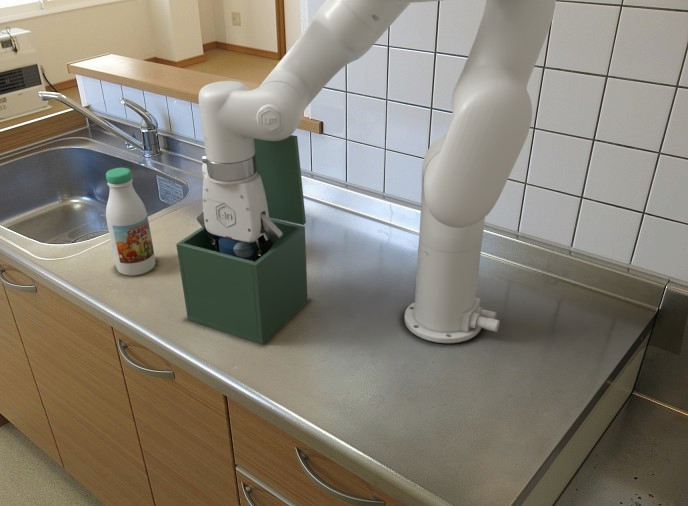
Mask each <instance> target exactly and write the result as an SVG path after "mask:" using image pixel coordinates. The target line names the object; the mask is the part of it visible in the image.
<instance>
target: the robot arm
mask: <svg viewBox="0 0 688 506" xmlns="http://www.w3.org/2000/svg"><path fill="white" fill-rule="evenodd" d="M442 1H443V0H324V1H323V3H322V4H321V5H320V7H319V8H318V9H317V11H316V12H315V13H314V15H313V16H312V18H311V20H310V22H309V24H308V25H307V27H305V30H304V31H303V32H302V34H301V35H300V36H299V37H298V39H297V40H296V41H294V43H293V45H292V46H291V47H290V48H289V50H288V51H286V54H284V56H283V57H282V58H281V59H280V61H278V63H277V64H276V66H274V68H273V69H272V70H271V71H270V73H269V74H268V75H267V76H266V77H265V79H264V80H263V81H262V82H261V84H260V85H259V86H258V87H257V88H254V89H251V90H250V89H249V88H248V86H247V85H246V84H245V83H243V82H240V81H235V80H221V81H214V82H210V83H208V84H206V85H204V86H202V87H201V88H200V90H199V93H198V108H199V116H200V122H201V123H200V124H201V129H202V138H203V145H204V152H205V154H204V155H202V157H201V161H202V164H203V163H206V164H207V170H208V173H206V174H205V175H204V180H203V183H202V212H201V213H200V214H198V216H197V217H196V221H197V222H198V224H199V225H200V226H201V227H203V228H204V231H205V233H206V234H207V235H208V236H209V238H210V242H211V244H213V245H214V247H215V251H216V252H219V253H220V250H219V242H218V241H219V238H220V236H221V237H225V236H228V237H231V238H232V239H234V240H238V241H242V242H247V243H251V245H252V247H253V249H254V250H255V252H256V254H254V255H253V261H254V262H255V261H257V260H258V259H259V258H260V257H262V256H263V255H264V254H265V253H267V252H268V250H269V249H270V248H271V247H272V246H273V245H274V244H276V242H277V241H278V240H279V239H280V238H281V237H282V235H283V234H282V232H281V231H280V230H279V229H278V228H277V226H276V225H275V224H274V223H273V222H272V221H271V220H270V219H271V218H270V217H269V213H268V206H267V200H266V195H265V190H264V186H263V183H262V179H261V176H260V174H257V166H256V155H255V144H254V138H255V139H260V140H266V141H280V140H283V139H286V138H288V137H289V136H291V135H293V134H294V133H295V131H296V130H297V129H298V127H299V124H300V122H301V120H302V117H303V115H304V113H305V111H306V109H307V108H308V107H309V105H311V103H312V101H314V99H315V98H316V97H317V96H318V94H319V93H320V92H321V91H322V90H323V89H324V88H325V86H326V85H327V84H328V83H329V82H330V81H331V80H332V79H333V78H334V77H335V76H336V75H337V74H338V73H339V72H340V71H341V70H342V69H343V68H344V67H346V66H347V65H349V64H350V63H353V62H355V61H357V60H359V59H361V58H362V57H363V56H365V54H367V53H368V51H370V49H371V48H372V47H373V46H374V45H375V44H376V42H377V41H379V39H380V38H381V37H382V36H383V35H384V34H385V32H386V31H387V30H388V29H389V28H390V27H391V25H393V24H394V22H395V21H396V20H397V19H398V18H399V17H400V15H401V14H402V13H403V12H404V11H405V10H406V9H407V8H408V7H409V6H410V5H411V4H412V3H428V2H442ZM556 5H557V0H485V5H484V9H483V14H482V17H481V19H480V23H479V26H478V28H477V33H476V35H475V38H474V40H473V42H472V46H471V48H470V50H469V53H468V56H467V58H466V60H465V64H464V66H463V68H462V71H461V73H460V75H459V78H458V79H457V82H456V84H455V86H454V88H453V91H452V95H451V111H452V119H451V122H450V126H449V128H448V130H447V133H445V134H443V135H442V136H440V137H438V138H437V139H435V141H434V142H433V143H432V144H431V145H430V146H429V148H427V151H426V153H425V155H424V158H423V161H422V167H421V191H420V192H421V194H420V195H421V196H420V219H419V233H418V234H419V235H418V248H417V263H416V281H415V296H414V302H412V303H410V304H409V305H407V308H406V309H405V310H404V319H403V320H404V325H405V326H406V328H407V329H408V330H409V331H410V332H411V333H412V334H414V335H415V336H416V337H419V338H421V339H423V340H426V341H428V342H433V343H439V344H457V343H461V342H462V343H463V342H466V341H468V340H471V339H472V338H474V337H476V336H477V335H479V333H480V332H481V330H482V329H484V330H487V331H491V332H495V333H497V332H498V330H499V327H500V324H501V323H500V321H501V320H499V319H497V318H496V317H497V312H496V311H492V310H487V309H483V307H481V298H480V297H476V295H477V286H478V280H479V270H480V261H481V253H482V247H483V245H482V244H483V238H484V230H485V221H486V217H487V216H489V214H490V213H491V211H492V210H493V209H494V207H495V205H496V204H497V203H498V200H499V198H500V197H501V195H502V192H503V190H504V188H505V186H506V184H507V182H508V180H509V178H510V175H511V173H512V171H513V170H514V167H515V165H516V163H517V160H518V158H519V156H520V154H521V152H522V149H523V147H524V145H525V143H526V140H527V139H528V135H529V133H530V129H531V125H532V120H533V104H532V98H531V97H530V94H529V92H528V84H529V81H530V78H531V76H532V73H533V71H534V68H535V66H536V64H537V62H538V59H539V56H540V55H541V51H542V48H543V46H544V43H545V41H546V38H547V36H548V33H549V31H550V27H551V25H552V21H553V18H554V15H555V9H556ZM266 232H267V233H268V234H269V238H268V239H267V237H266V235H265V233H266ZM258 238H259V240H260V242H261V244H262V245H260V243H259V242H258V240H257V239H258Z"/></svg>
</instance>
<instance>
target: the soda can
mask: <svg viewBox="0 0 688 506" xmlns="http://www.w3.org/2000/svg"><path fill="white" fill-rule="evenodd" d="M257 240H258V242H259V243H260V245H261V242H260V240H259V238H258V239H257ZM218 242H219V250H220V253H223V254H227V255H231V256H235V257H239V258H242V259H246V260H250V261H253V255H254V254H256V252H255V250H254V249H253V247H252V245H251V243H247V242H242V241H238V240H234V239H232V238H231V237H228V236H225V237H221V236H220V238H219V241H218Z"/></svg>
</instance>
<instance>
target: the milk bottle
mask: <svg viewBox="0 0 688 506" xmlns="http://www.w3.org/2000/svg"><path fill="white" fill-rule="evenodd" d="M105 179H106V182H107V186H108V187H109V193H108V199H107V202H106V208H105V219H106V225H107V230H108V235H109V240H110V245H111V249H112V254H113V259H114V264H115V268H116V270H117V272H119V273H120V274H121V275H124V276H139V275H142V274H145V273H149V272H150V271H151V270H153V268H154V267H155V266H156V256H155V250H154V246H153V239H152V233H151V228H150V227H151V226H150V222H149V218H148V213H147V210H146V206H145V204H144V202H143V201H142V199H141V197H140V196H139V194H138V193H137V191H136V190H135V188H134V186H133V181H134V180H133V173H132V170H131V169H130V168H128V167H115V168H112V169H109V170H107V171H106V172H105Z"/></svg>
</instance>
